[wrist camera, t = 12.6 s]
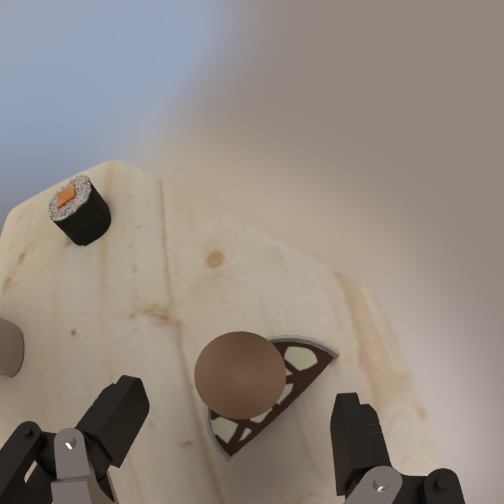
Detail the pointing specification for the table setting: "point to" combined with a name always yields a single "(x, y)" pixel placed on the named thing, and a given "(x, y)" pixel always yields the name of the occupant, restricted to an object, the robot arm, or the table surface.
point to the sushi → (80, 211)
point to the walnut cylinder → (240, 375)
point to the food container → (297, 380)
